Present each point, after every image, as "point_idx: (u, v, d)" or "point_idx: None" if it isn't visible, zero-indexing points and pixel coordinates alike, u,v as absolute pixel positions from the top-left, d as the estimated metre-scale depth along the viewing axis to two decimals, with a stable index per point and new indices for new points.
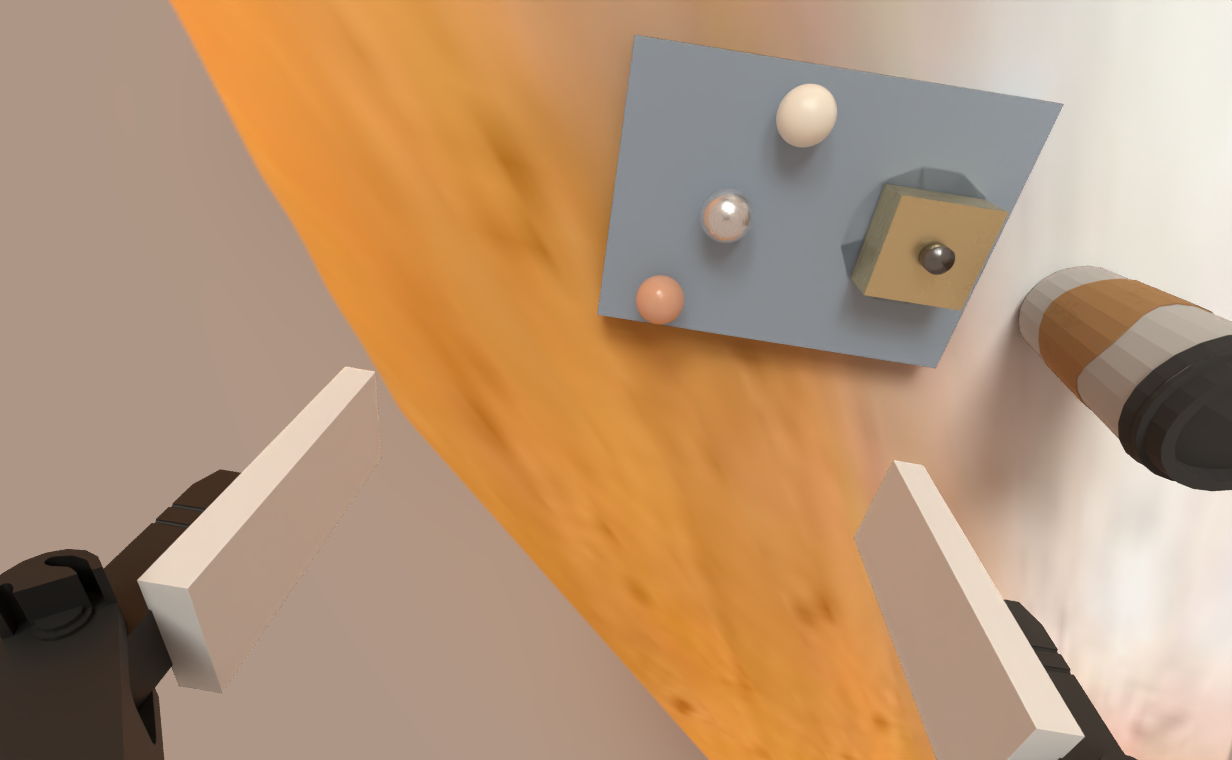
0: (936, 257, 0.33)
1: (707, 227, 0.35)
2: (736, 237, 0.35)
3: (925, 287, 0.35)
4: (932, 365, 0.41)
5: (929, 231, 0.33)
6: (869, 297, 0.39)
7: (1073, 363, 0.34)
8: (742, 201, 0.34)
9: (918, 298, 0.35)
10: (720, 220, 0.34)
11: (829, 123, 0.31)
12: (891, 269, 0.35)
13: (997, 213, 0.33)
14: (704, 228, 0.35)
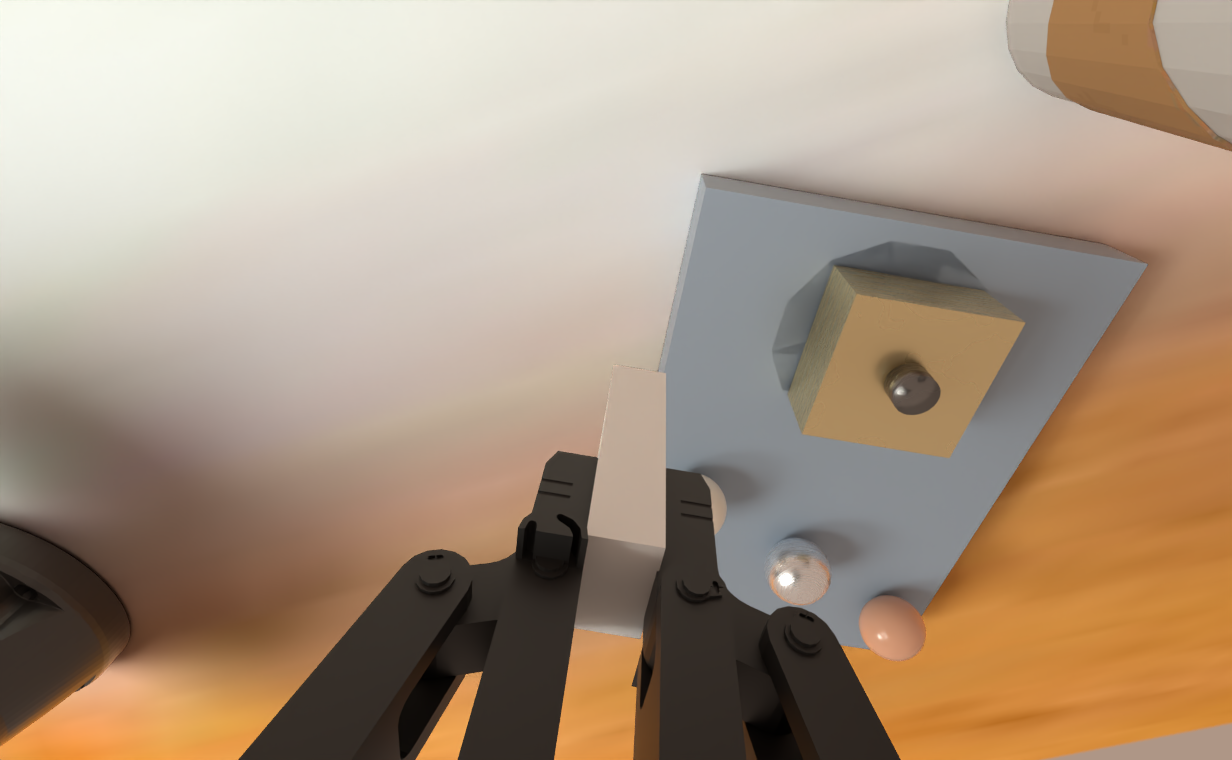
0: (909, 401, 0.21)
1: None
2: (825, 581, 0.28)
3: (961, 382, 0.22)
4: (1139, 270, 0.22)
5: (863, 394, 0.22)
6: None
7: None
8: (780, 573, 0.28)
9: (979, 389, 0.22)
10: (799, 602, 0.28)
11: None
12: (915, 430, 0.23)
13: (855, 309, 0.20)
14: None
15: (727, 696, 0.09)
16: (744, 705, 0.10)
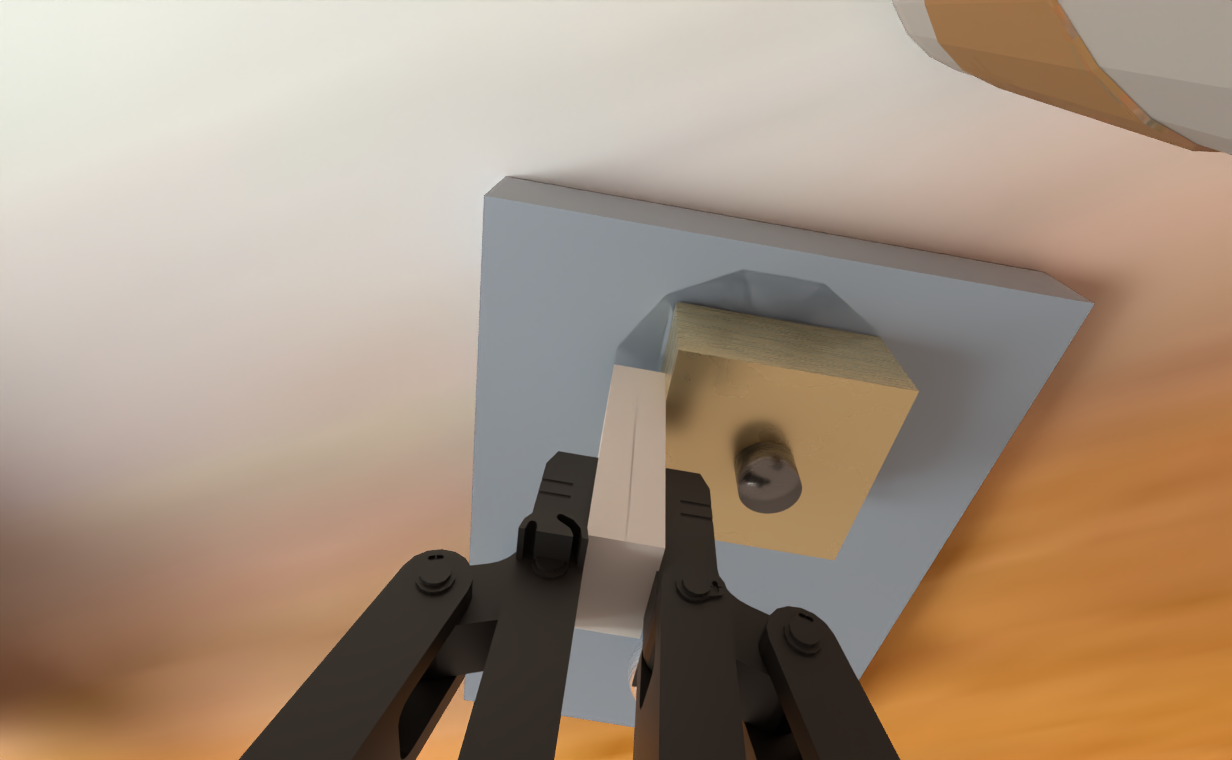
0: (760, 496, 0.15)
1: None
2: None
3: (839, 467, 0.16)
4: (1082, 312, 0.16)
5: (708, 479, 0.16)
6: None
7: None
8: None
9: (863, 476, 0.16)
10: None
11: None
12: (784, 526, 0.17)
13: (679, 370, 0.15)
14: None
15: (727, 696, 0.09)
16: (744, 704, 0.10)
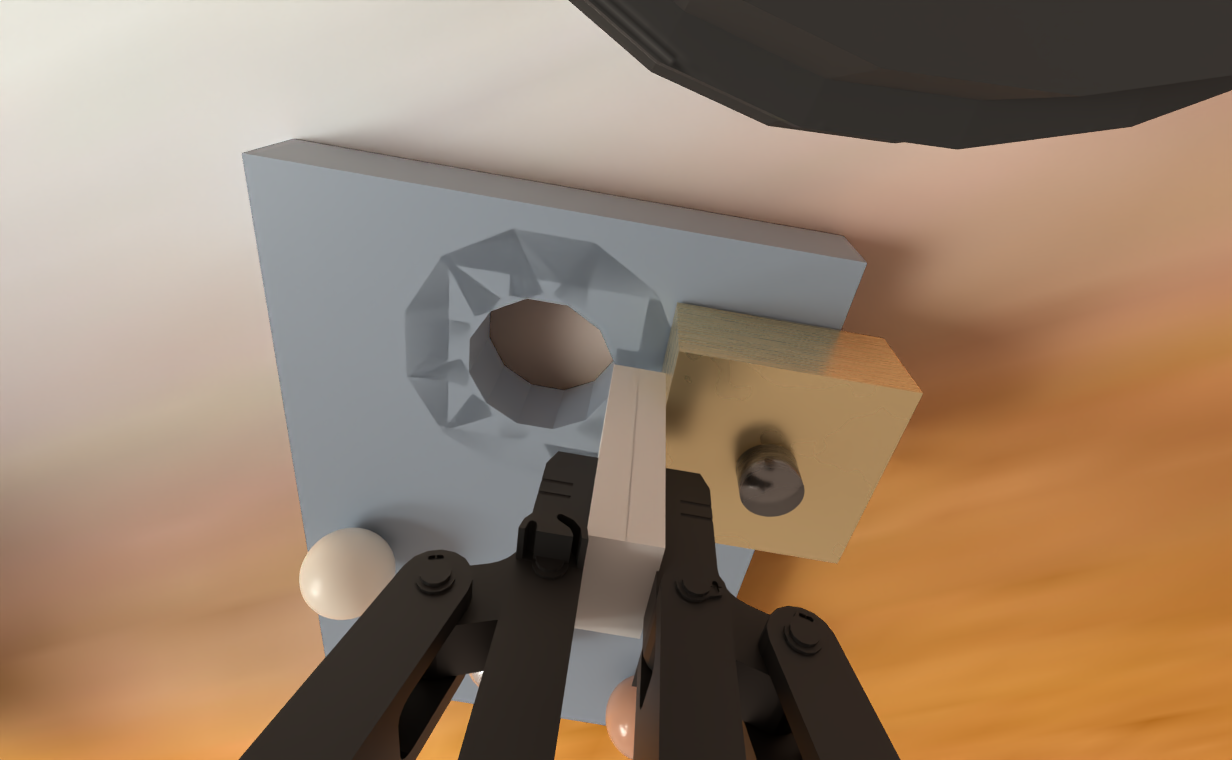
0: (762, 499, 0.15)
1: None
2: None
3: (842, 470, 0.15)
4: (856, 272, 0.16)
5: (710, 482, 0.16)
6: None
7: None
8: None
9: (866, 479, 0.16)
10: None
11: (332, 580, 0.20)
12: (786, 528, 0.17)
13: (680, 371, 0.14)
14: None
15: (727, 696, 0.09)
16: (744, 705, 0.10)
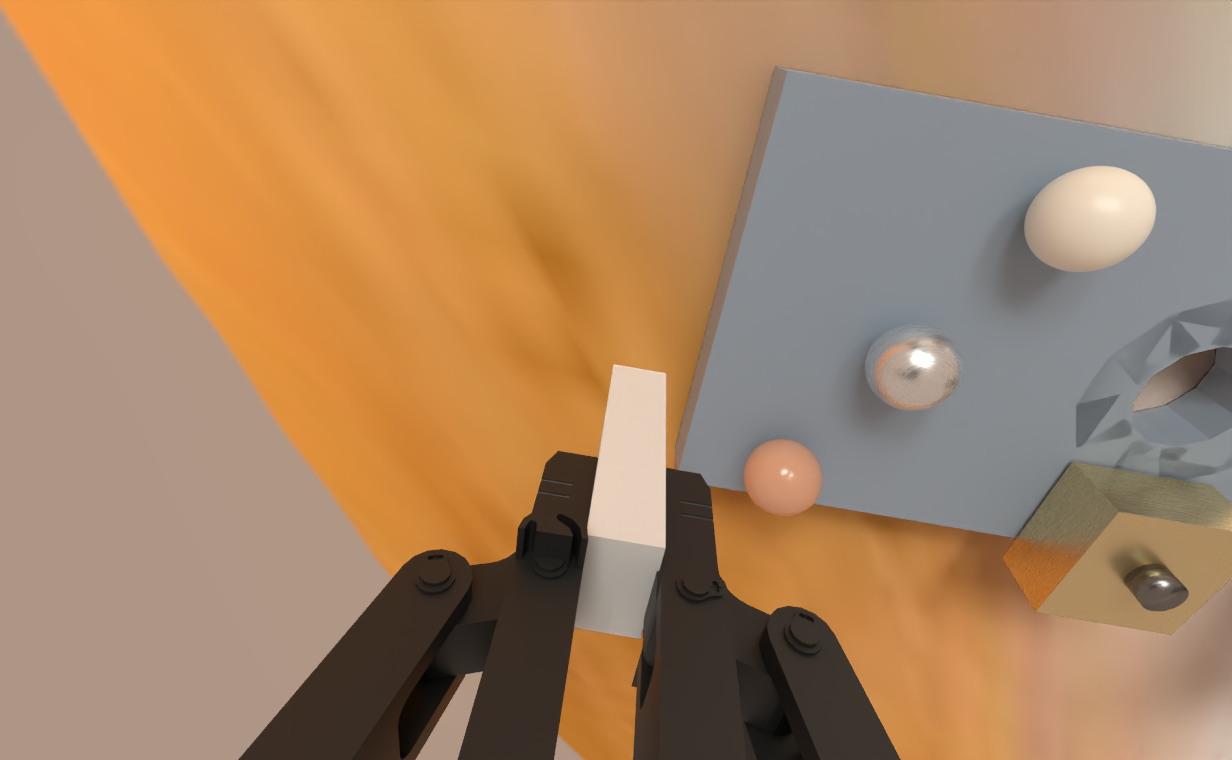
0: (1161, 594, 0.23)
1: (883, 389, 0.21)
2: (932, 407, 0.21)
3: (1126, 609, 0.25)
4: None
5: (1148, 551, 0.23)
6: None
7: None
8: (952, 353, 0.20)
9: (1113, 619, 0.25)
10: (913, 385, 0.20)
11: (1143, 240, 0.17)
12: (1082, 588, 0.24)
13: None
14: (876, 388, 0.21)
15: (727, 696, 0.09)
16: (744, 704, 0.10)
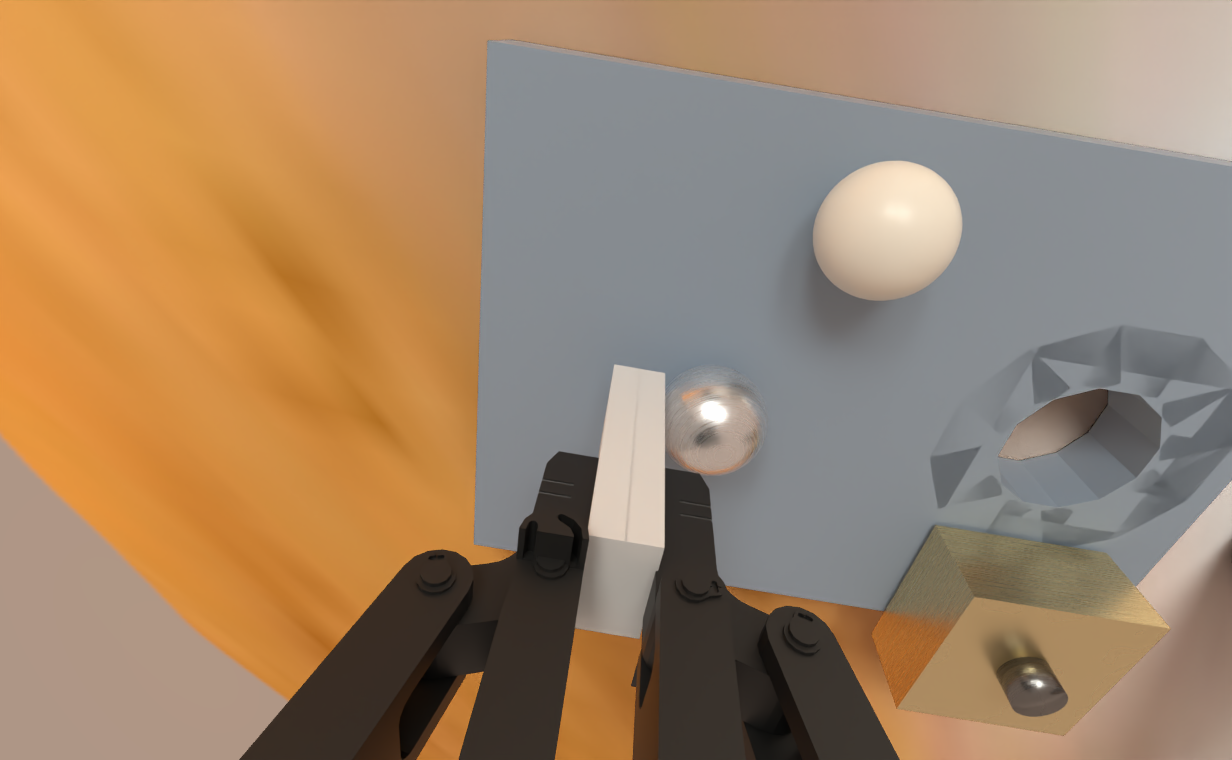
0: (1034, 697, 0.18)
1: (673, 454, 0.16)
2: (736, 470, 0.17)
3: (1004, 707, 0.20)
4: None
5: (1019, 643, 0.18)
6: None
7: None
8: (748, 405, 0.16)
9: (991, 718, 0.20)
10: (704, 450, 0.16)
11: (945, 260, 0.13)
12: (946, 683, 0.20)
13: (1149, 629, 0.18)
14: (667, 452, 0.17)
15: (726, 696, 0.09)
16: (743, 704, 0.10)
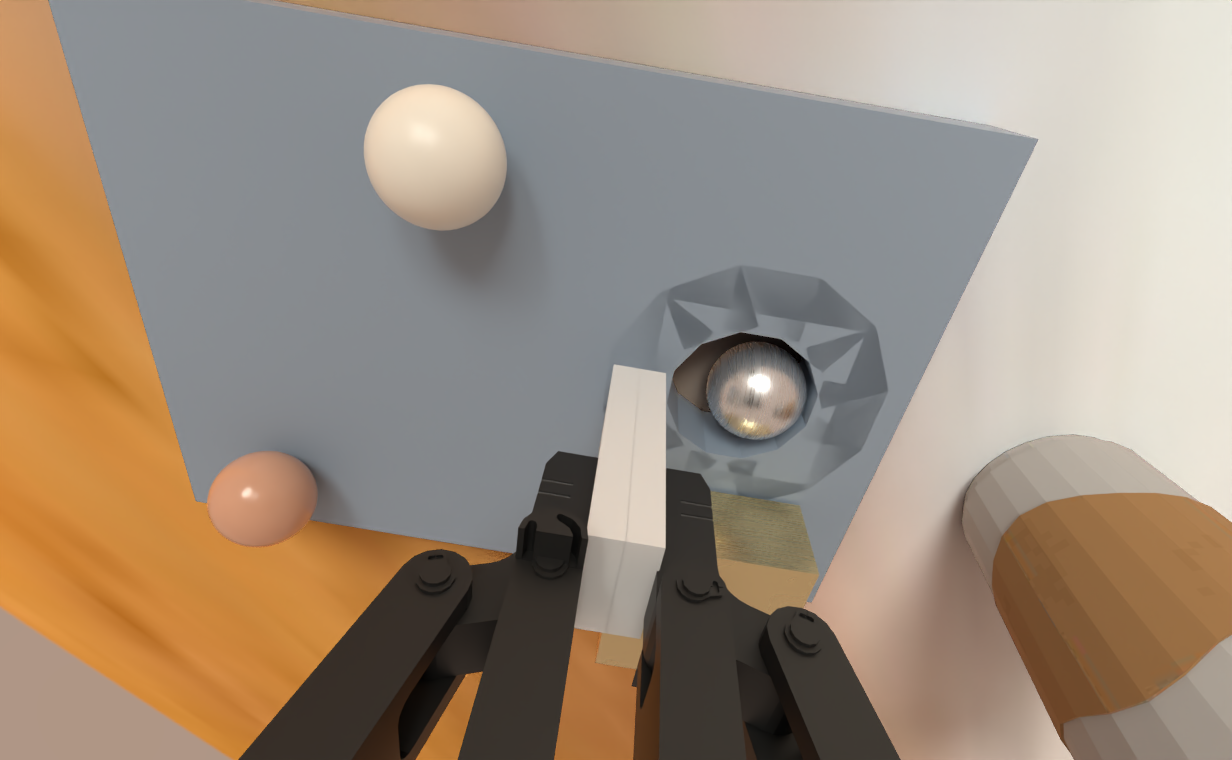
0: None
1: (783, 431, 0.19)
2: None
3: None
4: None
5: None
6: None
7: (1056, 688, 0.16)
8: (791, 356, 0.19)
9: None
10: (803, 407, 0.19)
11: (466, 182, 0.13)
12: None
13: (799, 575, 0.18)
14: (772, 436, 0.19)
15: (727, 696, 0.09)
16: (744, 704, 0.10)
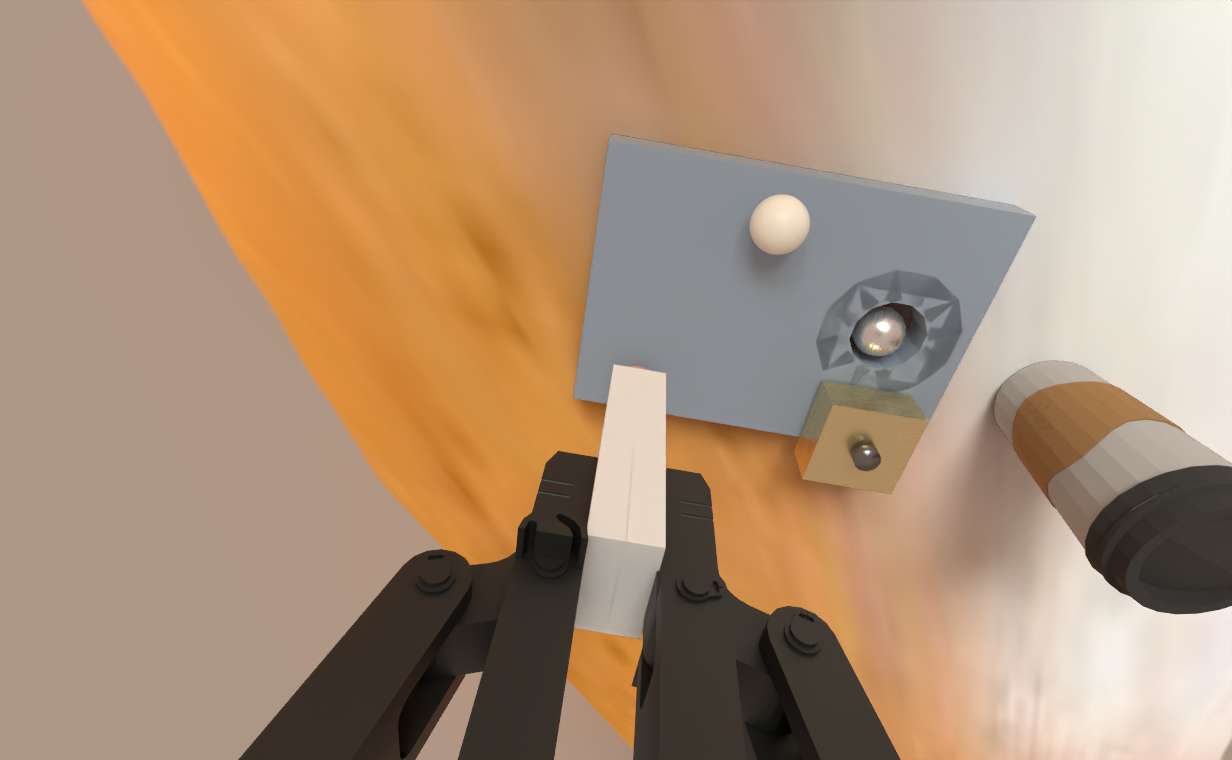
0: (864, 458, 0.36)
1: (884, 351, 0.37)
2: None
3: (857, 475, 0.38)
4: None
5: (858, 432, 0.37)
6: None
7: (1044, 468, 0.35)
8: None
9: (851, 483, 0.39)
10: (900, 342, 0.36)
11: (801, 236, 0.31)
12: (826, 460, 0.38)
13: (919, 421, 0.36)
14: (878, 352, 0.37)
15: (727, 696, 0.09)
16: (744, 705, 0.10)
